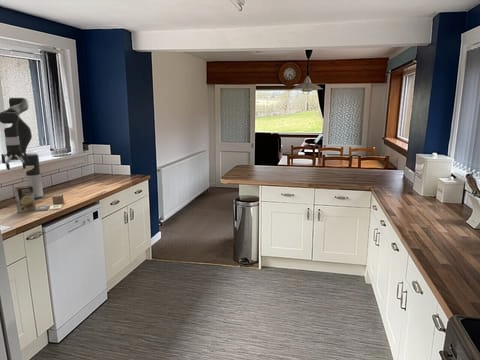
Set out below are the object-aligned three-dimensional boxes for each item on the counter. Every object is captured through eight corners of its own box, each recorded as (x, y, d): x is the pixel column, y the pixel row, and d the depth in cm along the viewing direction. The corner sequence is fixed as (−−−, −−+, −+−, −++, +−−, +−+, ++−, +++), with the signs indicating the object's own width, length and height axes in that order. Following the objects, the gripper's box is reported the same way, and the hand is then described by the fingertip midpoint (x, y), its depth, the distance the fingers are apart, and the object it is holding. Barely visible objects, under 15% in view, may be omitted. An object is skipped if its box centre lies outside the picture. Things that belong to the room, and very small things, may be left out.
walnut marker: (54, 202, 254) (53, 194, 253) (63, 201, 256) (62, 193, 254) (53, 205, 248) (52, 196, 247) (62, 204, 250) (61, 195, 249)
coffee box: (21, 213, 230) (17, 189, 226) (17, 211, 234) (13, 187, 230) (36, 209, 237) (32, 186, 233) (32, 208, 241) (28, 185, 237)
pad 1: (38, 207, 242) (38, 206, 242) (49, 206, 244) (49, 205, 244) (35, 211, 233) (35, 210, 232) (47, 210, 235) (47, 209, 235)
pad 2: (51, 206, 244) (51, 205, 244) (62, 205, 247) (62, 204, 246) (49, 210, 235) (48, 208, 235) (60, 209, 237) (60, 207, 237)
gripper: (26, 142, 231) (30, 167, 235) (1, 144, 226) (5, 169, 230) (24, 144, 224) (27, 169, 228) (-2, 145, 220) (2, 171, 223)
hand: (16, 169), depth 229 cm, fingers open, 8 cm apart
